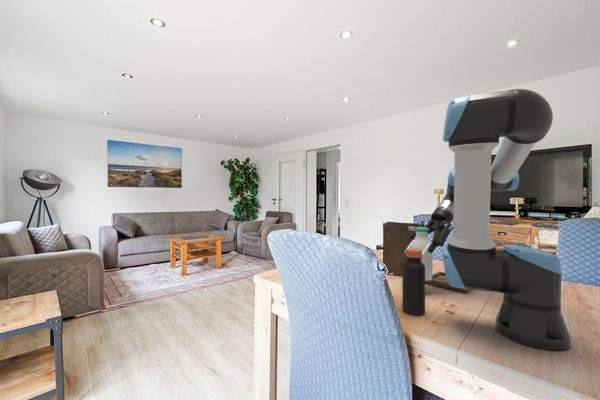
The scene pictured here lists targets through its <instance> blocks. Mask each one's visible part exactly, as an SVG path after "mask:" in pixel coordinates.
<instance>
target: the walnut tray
mask: <svg viewBox="0 0 600 400" xmlns="http://www.w3.org/2000/svg"><path fill="white" fill-rule="evenodd" d="M426 284H428V285H427V286H430V285H432V286H431V287H434V286H435V288H439V289H444V290H449V291H452V292H457V293H461V294H466V295H468V294H469V293H471V291H473V290H470V289H466V290H465V289H463V288H457V287H452V286H450V285H449V284H448V282H447V279H446V274H445V271H444V272H443V271H437V272H435V273H433V276H432V280H429V281H425V285H426Z"/></svg>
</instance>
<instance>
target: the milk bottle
mask: <svg viewBox="0 0 600 400" xmlns="http://www.w3.org/2000/svg"><path fill="white" fill-rule="evenodd" d="M428 229H429V228H426V227H416V228H415V231H416V232H415V233H416V237H415V240H414V242H413V244H412V248H413V249H420V250H422V252H423V251H424V250H425V248H426V247H427V245H428V244H429V242H430V243H431V241H430V239H429V236H428V235H429V234H428ZM433 255H434V254H433V252H432V253H431V254H430V255H429V257H428V258H427V260H424V259H423V258H422V257H421V258H422V259H421V262H422V263H423V264H424V266H425V281H429V280H432V276H433V274H434V273H433V270H434V269H433V268H434V267H433V265H434V263H433V257H434V256H433Z"/></svg>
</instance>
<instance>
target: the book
mask: <svg viewBox="0 0 600 400" xmlns="http://www.w3.org/2000/svg"><path fill="white" fill-rule="evenodd" d="M420 224H421V223H414V222H409V223H408V222H397V221H396V222H395V221H386V222H383V223H382V236H383V237H382V264H383V263H384V264H385V265H386V267H387V269H388V274H387V275H390V274H389V273H393V274H397V275H396V276H399V275H402V265H403V263H404V262H405V261H406V260H407V258H406V253H405V250H406V249H407V248H408V245H409V244H410V242H411V241H412V240H411V239H410V238H409V237H410V236H411V234H412V233H413V232H414V231H415V228H416V227H419V225H420Z"/></svg>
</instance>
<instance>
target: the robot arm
mask: <svg viewBox="0 0 600 400" xmlns="http://www.w3.org/2000/svg"><path fill="white" fill-rule="evenodd" d="M553 118H554V115H553V110H552V107H551V105H550V103H549V102H548V100H546V97H545V98H544V96H542V95H541V94H540V93H538V92H536V91H533V90H531V89H527V88H526V89H524V88H514V89H513V88H512V89H508V90H501V91H492V92H491V91H490V92H484V93H477V94H475V93H474V94H468V95H464V96H461V97H456V98H453V99H452V100H451V101H450V102H449V103H448V106H447V109H446V114H445V119H444V125H443V135H442V141H443V142H445V143H447V142H448V149H450V151H451V152H452V153H453V154H454V163H453V164H454V168H451V170H450V171H449V173H448V177H447V187H446V194H445V195H444V197H443V198H442V200H441V201H439V203H438V205H437V206H436V208H435V209H434V211H433V212H432V213H431V215H430V216H431V217H430V219H429V220H428V221H424V220H422V221H421V222H420V223H419V224H420V225H419V227H426V228H428V235H429V234H432V233H433V236H432V240H431V241H430V242H429V244H428V245H427V247H426V248H425V250H424V251H423V252H422V258H423V259H424V260H427V258H428V257H429V255H430V254H431V253H432V254H433V253H434V251H435V249H436V248H438V247H440V248H441V250H442V251H441V252H442V260H443V265H444V266H443V267H444V273H445V274H446V279H447V282H448V284H449V285H450V286H452V287H457V288H463V289H465V290H466V289H470V290H472V291H481V292H488V293H498V294H503V296H502V297H503V300H502V303H501V305H500V308H499V310H498V312H497V315H496V317H495V329H496V331H498V332H499V333H500V334H501V335H503V336H504V337H506V338H508V339H509V340H512V341H514V342H517V343H519V344H522V345H525V346H528V347H532V348H535V349H540V348H541V350H546V349H549V350H548V351H557V350H559V351H565V350H564V349H566V350H569V349H570V348H571V343H572V342H571V341H572V339H571V334H570V332H569V329H568V326H567V325H566V321H565V319H564V317H563V315H562V275H563V271H562V265H561V264H562V263H561V259H560V257H558V256H557V255H556V254H554V253H553V252H549V251H545V250H542V249H538V248H537V249H536V248H532V247H526V246H523V245H522V246H521V245H515V244H511V245H510V244H505V245H503V247H502V250H501V249H497V248H496V247H497V246H496V243H495V242H494V241H493V240H492V239H490V225H491V224H490V223H491V221H490V219H491V192H507V191H509V192H510V191H515V190H517V189H518V187H519V183H520V175H519V169H520V168H521V167H522V165H523V163H524V162H525V161H526V159H527V157H528V156H529V154H530V152H531V151H532V149H533V148H534V146H535V144H536V143H538V142H540V141H542V140H543V139H544V138H546V136H547V134H548V133H549V132H550V129H551V127H552V125H553ZM500 138H503V139H502V141H501V144H500ZM499 145H500V146H499ZM498 146H499V148H498V150H497V152H496V155H495V157H494V160H493V162H492V152H493V150H494V149H495V148H496V147H498ZM452 222H453V225H452ZM452 230H453V235H452V236H451V237H449V235H450V233H451V232H452ZM415 232H416V231H414V232H413V233H412V234H411V236H410V237H409V238H410V239H411V240H412V241H411V242H410V244H409V245H408V248H407V249H409V248H412V244H413V242H414V240H415V237H416V233H415ZM448 238H449V239H448ZM446 241H447V245H445V243H446ZM405 253H406V250H405ZM568 348H569V349H568Z"/></svg>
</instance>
